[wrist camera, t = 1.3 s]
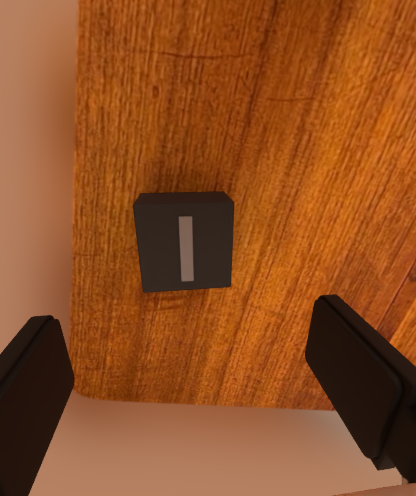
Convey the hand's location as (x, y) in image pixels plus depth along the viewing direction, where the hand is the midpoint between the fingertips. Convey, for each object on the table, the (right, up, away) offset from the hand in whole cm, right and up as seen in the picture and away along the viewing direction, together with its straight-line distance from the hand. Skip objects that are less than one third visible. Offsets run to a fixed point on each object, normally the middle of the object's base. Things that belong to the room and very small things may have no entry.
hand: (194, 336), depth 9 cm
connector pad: (-1, +5, +10) cm, 11 cm away
